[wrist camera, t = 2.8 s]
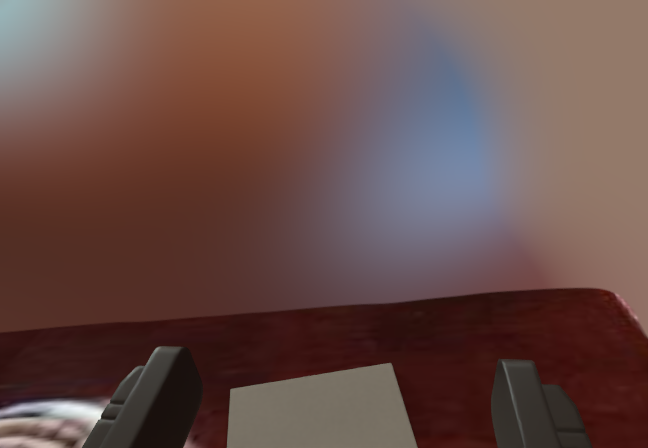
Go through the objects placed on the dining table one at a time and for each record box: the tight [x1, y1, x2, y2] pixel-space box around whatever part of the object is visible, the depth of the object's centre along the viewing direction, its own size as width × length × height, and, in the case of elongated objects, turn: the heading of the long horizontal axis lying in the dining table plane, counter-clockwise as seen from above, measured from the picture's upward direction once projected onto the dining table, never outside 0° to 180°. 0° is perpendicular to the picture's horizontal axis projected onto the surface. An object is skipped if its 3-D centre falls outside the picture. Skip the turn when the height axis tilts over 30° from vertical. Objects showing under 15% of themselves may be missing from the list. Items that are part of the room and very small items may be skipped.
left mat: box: [227, 363, 418, 448], centre depth 38 cm, size 16×12×1 cm
